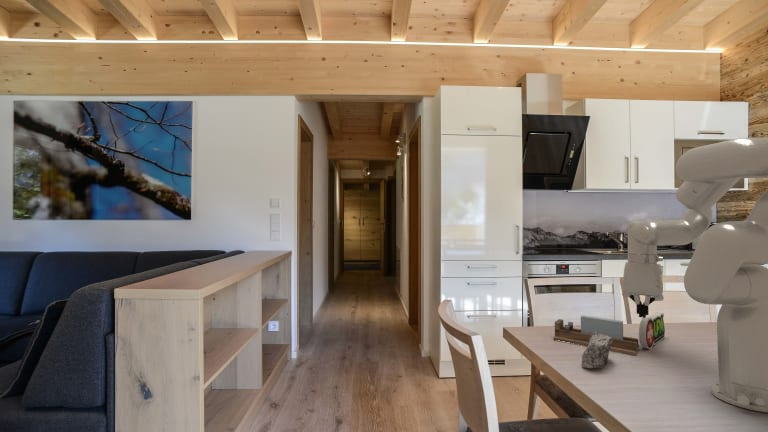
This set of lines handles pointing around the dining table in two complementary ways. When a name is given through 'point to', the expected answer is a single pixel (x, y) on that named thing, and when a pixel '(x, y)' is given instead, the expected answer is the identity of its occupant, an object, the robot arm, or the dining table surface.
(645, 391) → the dining table surface
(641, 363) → the dining table surface
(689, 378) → the dining table surface
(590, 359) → the rock
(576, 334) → the rail
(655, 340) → the sign
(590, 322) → the panel
